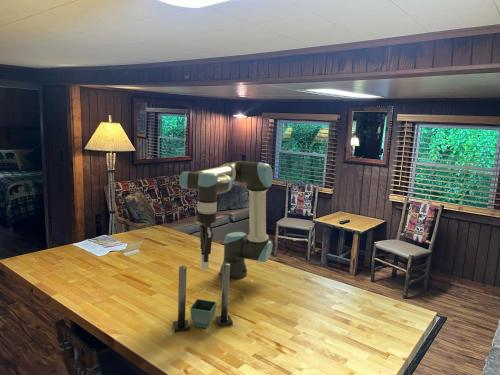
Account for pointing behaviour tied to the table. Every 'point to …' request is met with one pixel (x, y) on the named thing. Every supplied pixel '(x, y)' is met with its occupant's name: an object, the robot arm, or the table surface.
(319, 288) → the table surface
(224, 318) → the post
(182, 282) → the post
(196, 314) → the flower pot
